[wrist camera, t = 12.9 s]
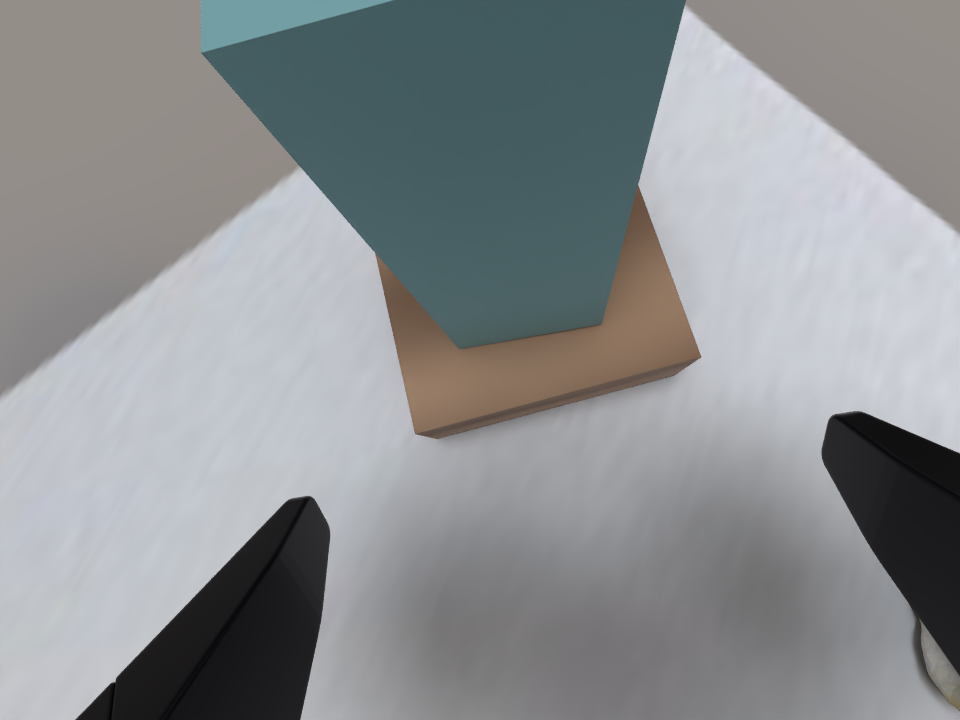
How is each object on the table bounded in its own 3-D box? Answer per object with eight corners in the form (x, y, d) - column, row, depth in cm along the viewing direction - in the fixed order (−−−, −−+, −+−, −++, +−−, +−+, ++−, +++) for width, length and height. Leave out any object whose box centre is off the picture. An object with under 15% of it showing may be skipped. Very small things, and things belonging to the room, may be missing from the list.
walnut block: (671, 377, 20) (701, 356, 17) (439, 439, 21) (415, 433, 17) (598, 168, 23) (610, 108, 19) (390, 231, 23) (360, 185, 20)
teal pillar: (602, 324, 17) (707, -86, 4) (459, 349, 18) (200, 52, 5) (575, 194, 18) (600, -420, 6) (442, 222, 19) (200, -273, 6)
